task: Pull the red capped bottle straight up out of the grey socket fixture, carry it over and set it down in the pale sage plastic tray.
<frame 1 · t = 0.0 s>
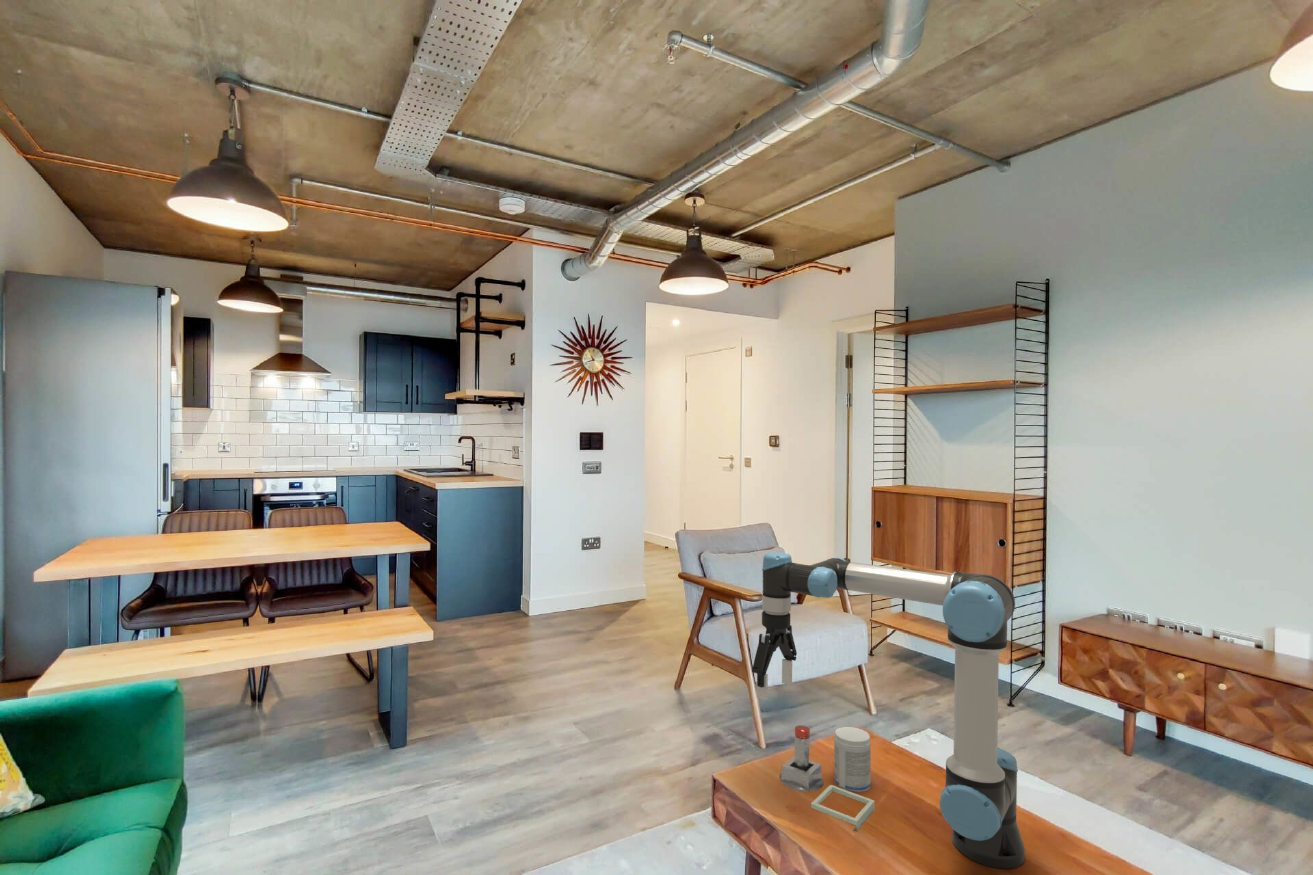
hand: (774, 691, 171), 28 cm above the table, fingers open, 13 cm apart
grey socket fixture: (801, 784, 177), on the table
tray: (842, 811, 165), on the table
red capped bottle: (801, 779, 177), point 1 cm above the table, touching grey socket fixture
supplement tub: (851, 788, 177), on the table
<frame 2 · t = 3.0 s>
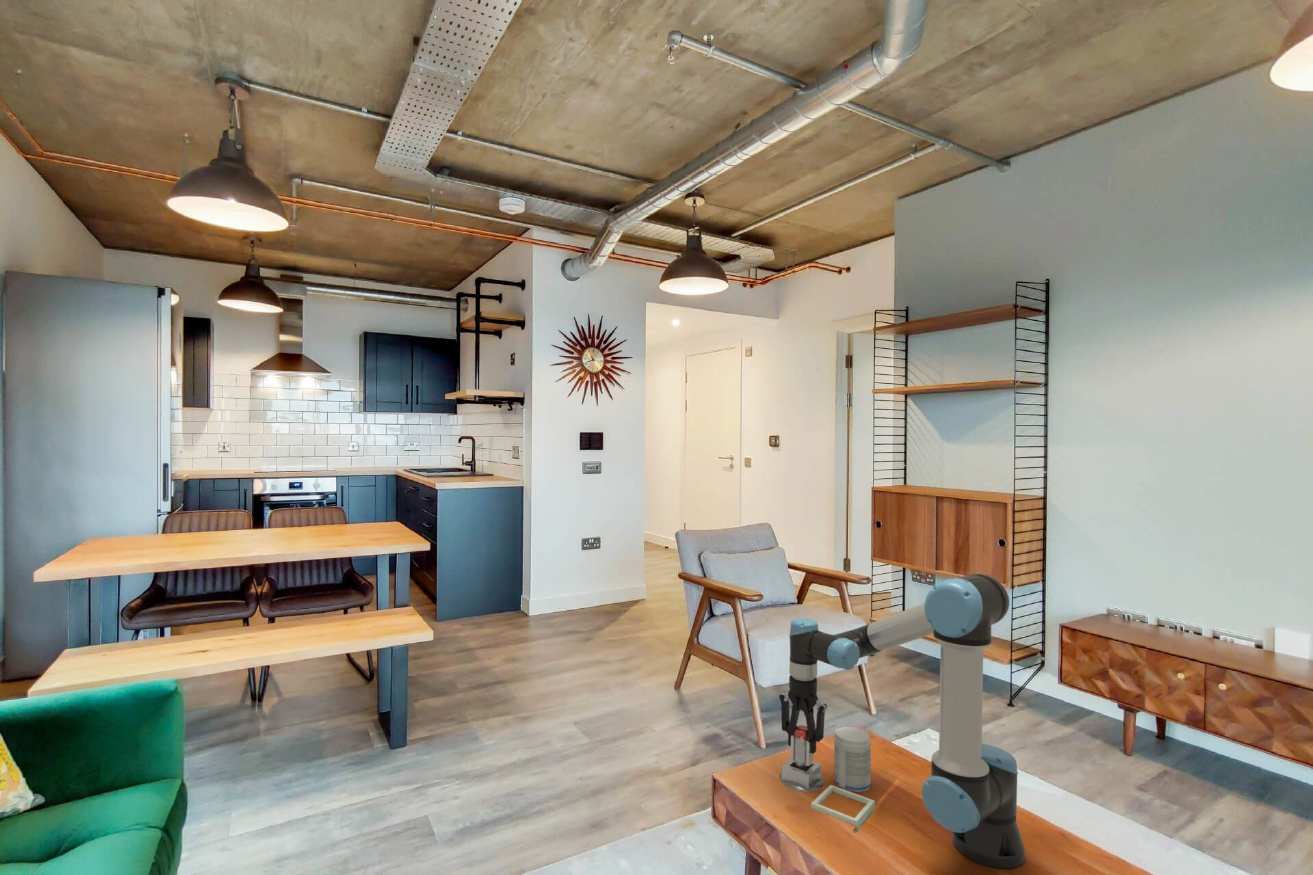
hand: (801, 760, 177), 7 cm above the table, fingers closed on red capped bottle, 4 cm apart
red capped bottle: (801, 779, 177), point 1 cm above the table, touching gripper, grey socket fixture
everything else where it was.
when the fingers open (7 cm above the table, at t = 9.9 s): red capped bottle drops 1 cm, resting on tray.
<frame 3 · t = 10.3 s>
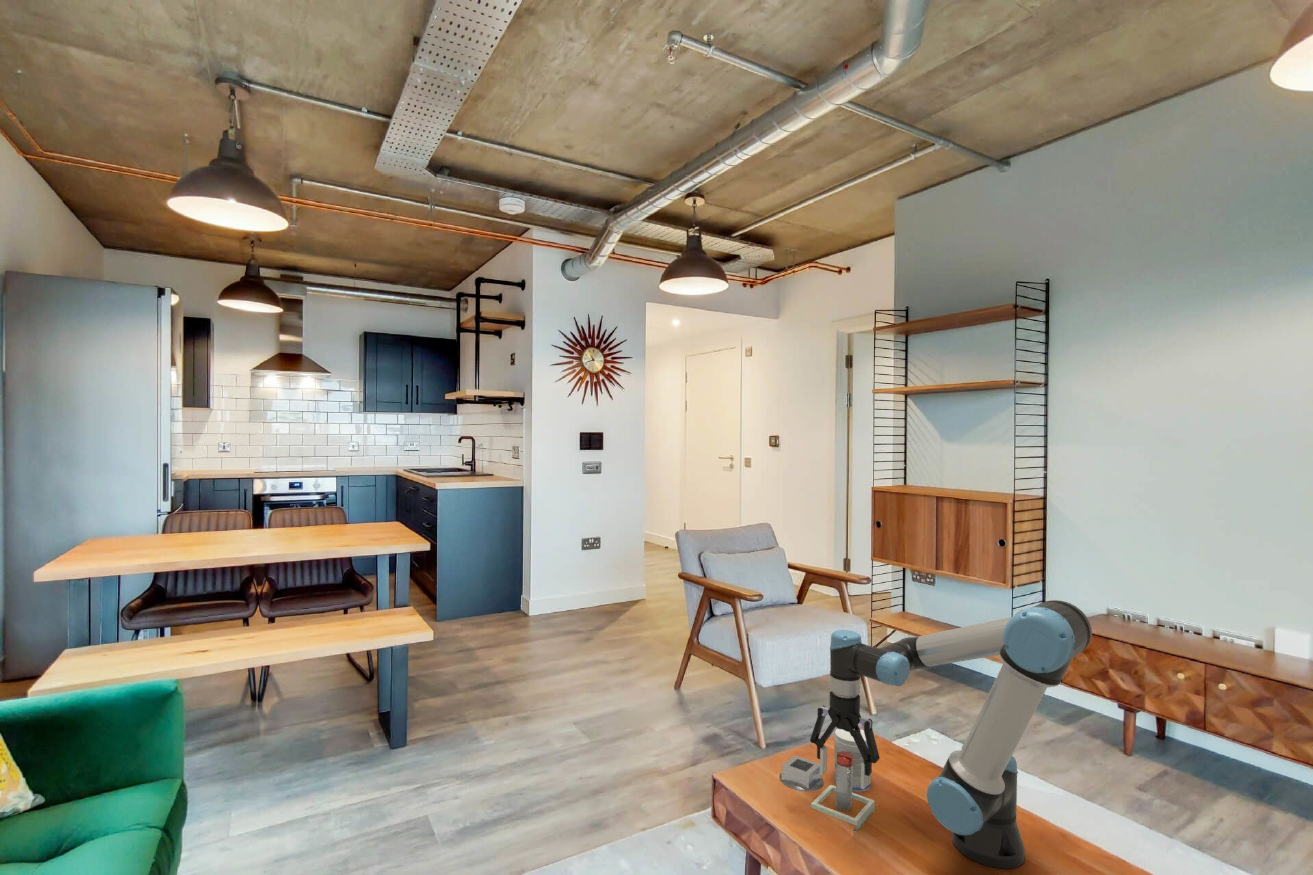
hand: (843, 779, 165), 8 cm above the table, fingers open, 10 cm apart
red capped bottle: (843, 809, 165), point 1 cm above the table, touching tray
everything else where it was.
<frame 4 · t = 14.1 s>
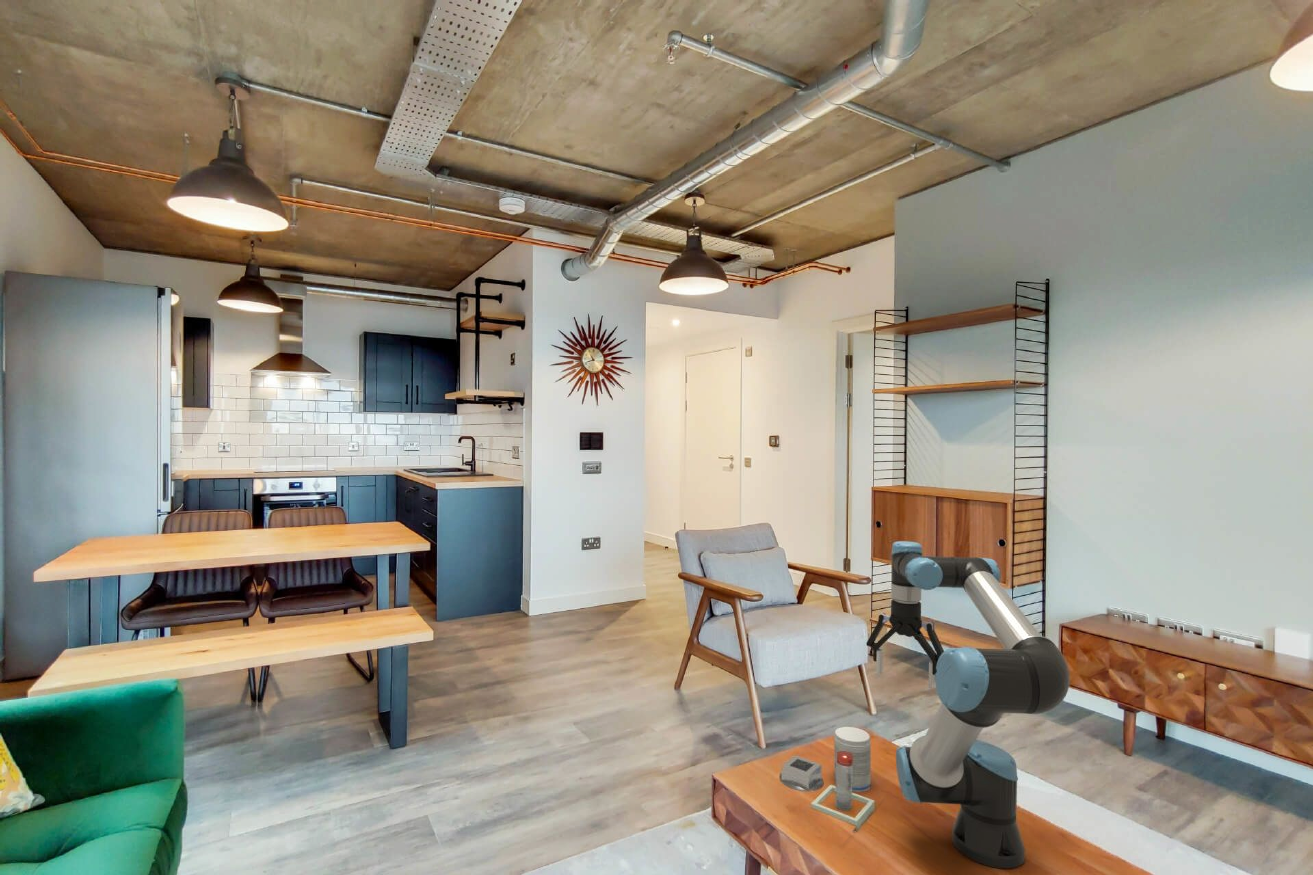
hand: (904, 680, 171), 32 cm above the table, fingers open, 13 cm apart
nothing on the table moved.
at the end: red capped bottle inside the target area on the tray (0.0 cm from its centre), point 0.6 cm above the tray's base; the gripper is holding nothing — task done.
